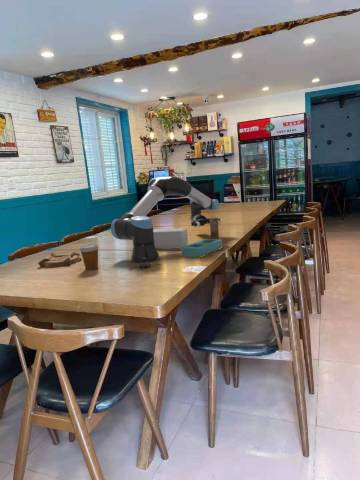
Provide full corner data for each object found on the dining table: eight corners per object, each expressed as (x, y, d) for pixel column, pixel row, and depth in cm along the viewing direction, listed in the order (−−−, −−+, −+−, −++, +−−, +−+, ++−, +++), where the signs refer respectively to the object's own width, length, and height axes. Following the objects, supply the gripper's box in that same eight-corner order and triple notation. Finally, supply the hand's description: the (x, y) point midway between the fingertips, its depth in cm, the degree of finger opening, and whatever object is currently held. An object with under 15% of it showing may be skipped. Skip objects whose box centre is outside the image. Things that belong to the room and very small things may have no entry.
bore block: (199, 257, 184) (198, 248, 183) (181, 256, 191) (180, 247, 190) (222, 248, 203) (221, 239, 202) (205, 246, 210) (204, 238, 209)
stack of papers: (188, 244, 222) (186, 228, 220) (183, 248, 212) (181, 231, 211) (143, 245, 233) (141, 229, 231) (136, 249, 223) (134, 232, 221)
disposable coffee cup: (82, 267, 184) (79, 245, 182) (100, 265, 187) (97, 243, 185) (82, 272, 175) (79, 248, 173) (101, 269, 178) (98, 246, 176)
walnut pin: (216, 244, 214) (214, 218, 211) (209, 244, 217) (207, 218, 214) (220, 243, 217) (219, 217, 215) (213, 242, 220) (212, 217, 218)
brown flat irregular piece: (29, 267, 197) (27, 259, 196) (61, 257, 217) (60, 249, 217) (59, 269, 186) (58, 260, 185) (90, 258, 206) (88, 250, 205)
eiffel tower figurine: (162, 264, 178) (159, 239, 176) (158, 270, 168) (155, 243, 166) (134, 266, 181) (131, 241, 178) (128, 271, 171) (125, 245, 168)
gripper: (217, 223, 248) (228, 227, 228) (183, 227, 243) (191, 231, 223) (216, 212, 247) (227, 215, 226) (182, 216, 242) (190, 220, 221)
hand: (209, 223), depth 225 cm, fingers open, 13 cm apart
